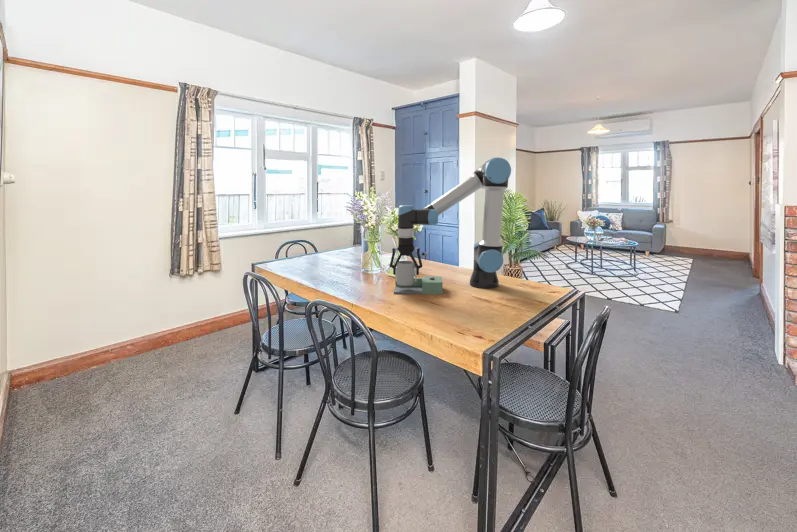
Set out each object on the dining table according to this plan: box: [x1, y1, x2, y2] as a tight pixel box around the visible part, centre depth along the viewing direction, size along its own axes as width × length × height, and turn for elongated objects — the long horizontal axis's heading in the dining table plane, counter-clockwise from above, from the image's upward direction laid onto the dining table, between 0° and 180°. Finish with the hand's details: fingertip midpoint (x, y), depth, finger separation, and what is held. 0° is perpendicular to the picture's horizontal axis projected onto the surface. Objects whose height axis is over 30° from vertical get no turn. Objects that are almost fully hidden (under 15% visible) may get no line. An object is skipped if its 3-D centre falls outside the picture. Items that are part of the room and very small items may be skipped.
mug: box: [396, 260, 416, 286], centre depth 197 cm, size 12×8×11 cm
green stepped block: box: [393, 275, 444, 295], centre depth 198 cm, size 24×13×7 cm, turn 86°
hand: (406, 281), depth 198 cm, fingers closed on mug, 9 cm apart
